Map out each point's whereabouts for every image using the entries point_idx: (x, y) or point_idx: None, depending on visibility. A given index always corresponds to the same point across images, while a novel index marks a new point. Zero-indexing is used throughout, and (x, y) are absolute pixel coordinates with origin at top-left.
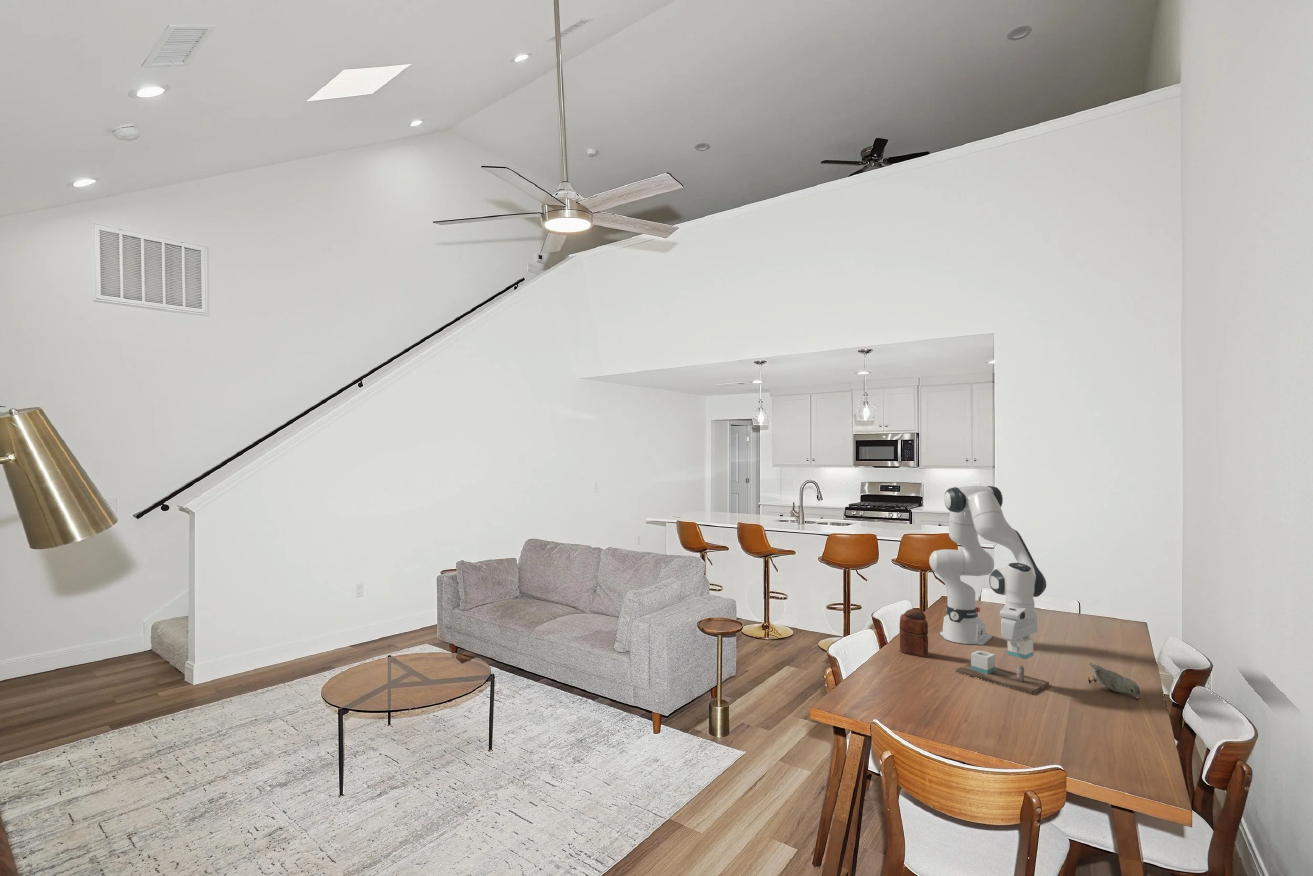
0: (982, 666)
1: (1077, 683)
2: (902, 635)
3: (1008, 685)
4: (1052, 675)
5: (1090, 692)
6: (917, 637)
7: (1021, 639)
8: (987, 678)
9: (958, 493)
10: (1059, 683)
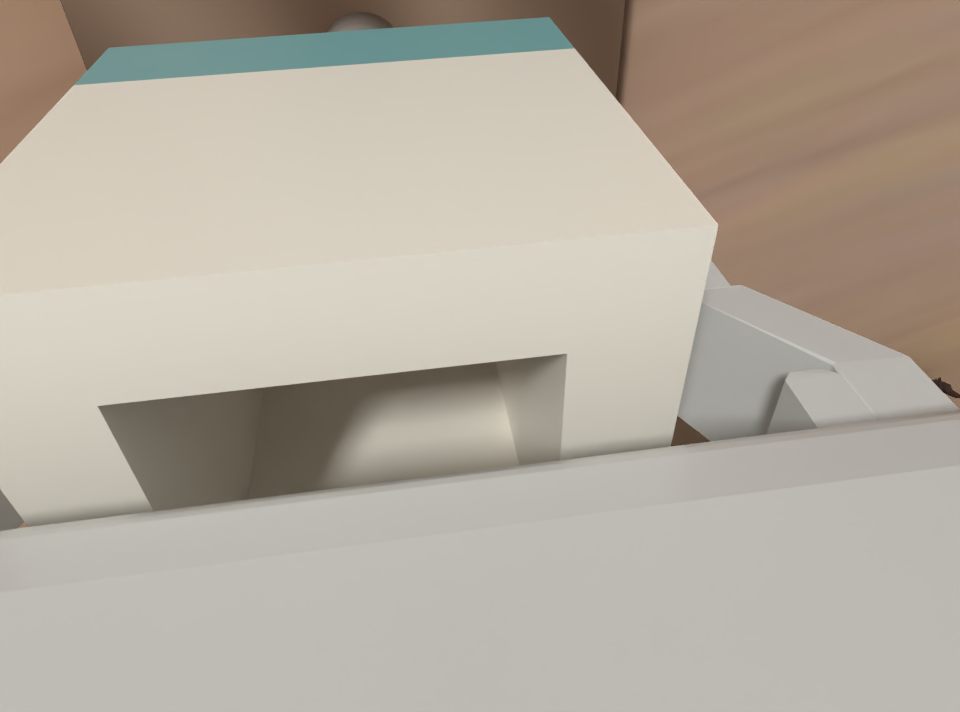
0: None
1: (833, 314)
2: None
3: (80, 31)
4: (950, 101)
5: (676, 431)
6: None
7: (542, 411)
8: None
9: None
10: (729, 245)
